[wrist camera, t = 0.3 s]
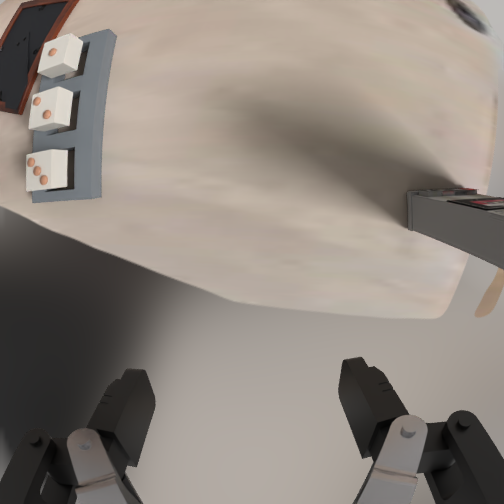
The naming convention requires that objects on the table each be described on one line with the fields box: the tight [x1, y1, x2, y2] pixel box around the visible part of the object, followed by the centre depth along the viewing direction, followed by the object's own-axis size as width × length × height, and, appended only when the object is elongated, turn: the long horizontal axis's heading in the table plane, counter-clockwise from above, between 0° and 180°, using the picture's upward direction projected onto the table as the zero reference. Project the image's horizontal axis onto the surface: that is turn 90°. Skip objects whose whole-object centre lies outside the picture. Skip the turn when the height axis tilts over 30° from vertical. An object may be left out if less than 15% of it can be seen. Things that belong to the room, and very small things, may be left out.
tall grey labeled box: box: [407, 188, 504, 270], centre depth 26 cm, size 14×6×25 cm, turn 97°
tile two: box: [28, 86, 73, 131], centre depth 26 cm, size 5×5×5 cm
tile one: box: [37, 33, 83, 78], centre depth 24 cm, size 5×5×5 cm
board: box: [32, 29, 117, 203], centre depth 31 cm, size 26×12×3 cm, turn 178°
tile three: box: [26, 149, 68, 192], centre depth 29 cm, size 5×5×5 cm
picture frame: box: [0, 0, 79, 115], centre depth 26 cm, size 20×2×25 cm
